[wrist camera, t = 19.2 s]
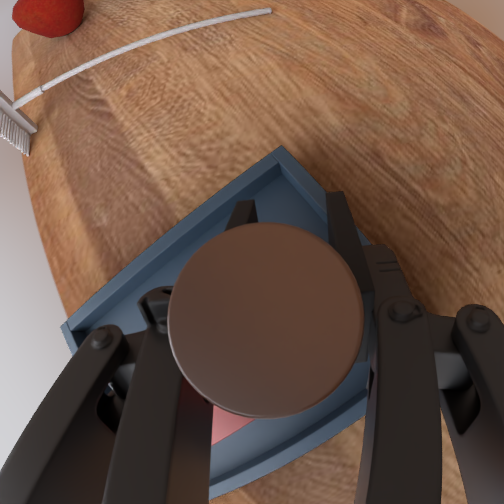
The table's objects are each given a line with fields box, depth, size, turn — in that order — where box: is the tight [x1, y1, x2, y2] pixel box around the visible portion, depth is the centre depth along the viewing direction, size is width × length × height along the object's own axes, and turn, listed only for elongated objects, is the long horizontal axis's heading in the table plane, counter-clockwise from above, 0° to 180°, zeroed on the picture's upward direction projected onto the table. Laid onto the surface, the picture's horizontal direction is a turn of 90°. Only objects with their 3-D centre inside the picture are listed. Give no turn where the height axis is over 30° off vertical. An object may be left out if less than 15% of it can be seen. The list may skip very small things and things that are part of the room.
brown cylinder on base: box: [167, 222, 364, 446], centre depth 10 cm, size 8×4×12 cm, turn 128°
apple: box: [12, 0, 85, 38], centre depth 26 cm, size 11×11×12 cm
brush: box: [0, 8, 272, 156], centre depth 22 cm, size 4×28×9 cm, turn 107°
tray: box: [60, 145, 413, 500], centre depth 16 cm, size 18×14×2 cm
